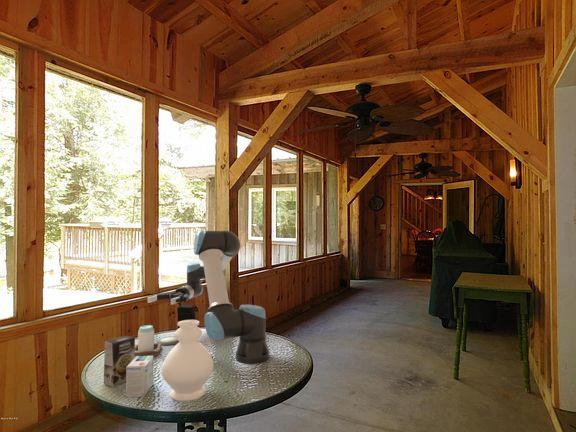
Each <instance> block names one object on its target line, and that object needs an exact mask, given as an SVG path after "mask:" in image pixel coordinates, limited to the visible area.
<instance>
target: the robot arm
mask: <svg viewBox="0 0 576 432" xmlns="http://www.w3.org/2000/svg"><path fill="white" fill-rule="evenodd" d="M240 250H241V241H240V239H239V237H238V236H237V235H236V234H235V233H234V232H232V231H229V230H199V231H197V232H196V234H195V236H194V242H193V253H194V255H196V256H198V259H199V260H200V261H201V262H202V264H203V265H201V263H200V262H199V263H198V262H192V263H187V266H186V285H183V286H181V287H178V288H176V289H175V290H174V291H173V292H169V291H167V292H162V293H156V294H154V293H153V294H152V295H151V296H148V297H147V303H148V304H149V303H153V302H154V303H155V302H157V301H160V300H168V301H169V300H170V305H171V306H172V305H176V304H180V303H182V302H184V303H186V302H188V300H190V299H194V298H197V297H199V296H201V295H202V294H203V292H204V287H203V284H201V280H205V283H206V289H207V295H208V301H209V307H208V308H207V310H206V311H207V312H206V313H205V314H204V318H203V319H204V329H205V331H206V334H207V336H208V338H209V339H211V340H213V341H214V340H215V341H217V340H220V341H221V340H225V339H232V338H238V337H239V341H238V345H237V348H236V351H235V360H236V361H237V362H240V363H242V364H260V363H263V362H267V361H268V360H269V359H270V350H269V348H268V344H267V340H266V323H267V322H266V319H267V318H266V317H267V316H266V310H265V308H264V307H262V306H260V305H254V304H241V305H240V306H239V309H235V307H234V304H233V303H232V302H230V300H229V296H228V290H227V285H226V284H227V283H226V279H225V277H226V274H227V272H226V268H227V267H228V265H229V263H230V262H231V260H232V259H233V258H234V257H236V256H237V255H238V253H239V252H240Z"/></svg>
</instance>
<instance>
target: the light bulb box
mask: <svg viewBox="0 0 576 432" xmlns="http://www.w3.org/2000/svg"><path fill="white" fill-rule="evenodd" d="M153 384H154V356H136V357H135V358H134V359H133V360H132V361H131V363H130V364H129V365H128V366H127V367H126V382H125V397H126V398H136V397H137V398H138V397H146V394H147V393H148V392H149V390H150V389H151V388H152V386H153Z"/></svg>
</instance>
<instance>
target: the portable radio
mask: <svg viewBox="0 0 576 432" xmlns="http://www.w3.org/2000/svg"><path fill="white" fill-rule="evenodd" d="M176 310H177V312H176V313H177V323H178V322H180V321H183V320H196V319H197V317H196V306H195V304H182V303H178V305H177V308H176ZM179 328H180V327H179V326H178V325H177V329H179ZM178 343H179V341H178V340H177V344H178ZM177 344H176V345H177Z"/></svg>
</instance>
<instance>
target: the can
mask: <svg viewBox="0 0 576 432" xmlns="http://www.w3.org/2000/svg"><path fill="white" fill-rule="evenodd" d="M154 343H155V328H154V327H153V324H152V325H151V324H148V325H141V326H140V327H139V329H138V331H137V345H138V350H137V352H145V351H155V348H154Z"/></svg>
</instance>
